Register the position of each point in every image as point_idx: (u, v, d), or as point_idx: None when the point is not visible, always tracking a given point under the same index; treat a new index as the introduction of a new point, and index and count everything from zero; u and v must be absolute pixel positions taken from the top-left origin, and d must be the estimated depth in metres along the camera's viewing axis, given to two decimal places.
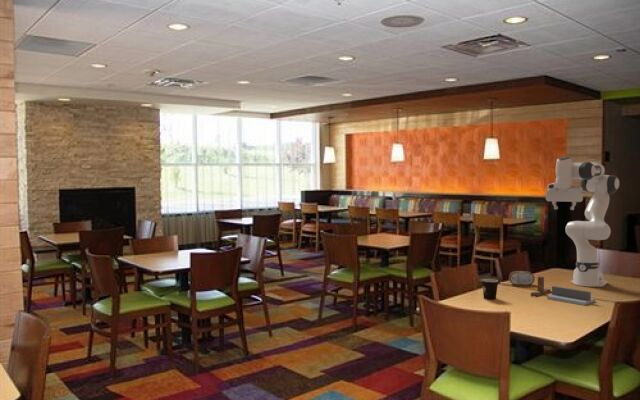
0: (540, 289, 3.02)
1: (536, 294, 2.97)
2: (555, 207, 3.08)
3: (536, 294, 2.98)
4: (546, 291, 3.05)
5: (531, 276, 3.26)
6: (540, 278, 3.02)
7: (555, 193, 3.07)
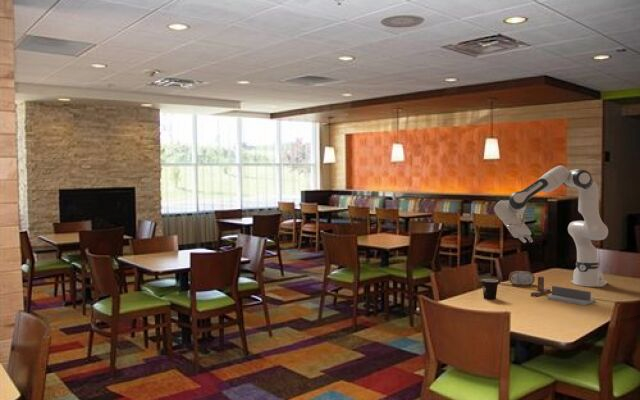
0: (540, 289, 3.02)
1: (536, 294, 2.97)
2: None
3: (536, 294, 2.98)
4: (546, 291, 3.05)
5: (531, 276, 3.26)
6: (540, 278, 3.02)
7: None
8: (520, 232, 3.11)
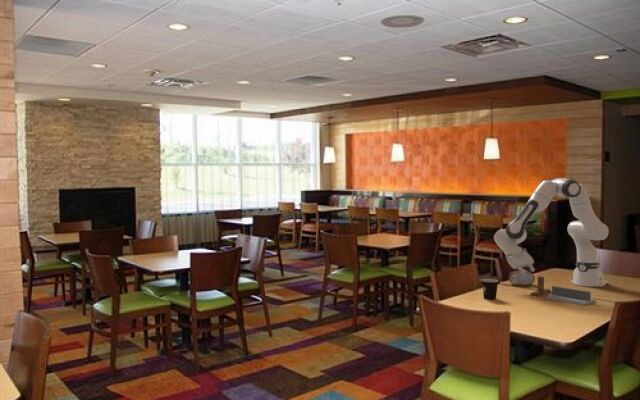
0: (540, 289, 3.02)
1: (536, 294, 2.97)
2: None
3: (536, 294, 2.98)
4: (546, 291, 3.05)
5: (531, 276, 3.26)
6: (540, 278, 3.02)
7: None
8: (519, 263, 3.06)
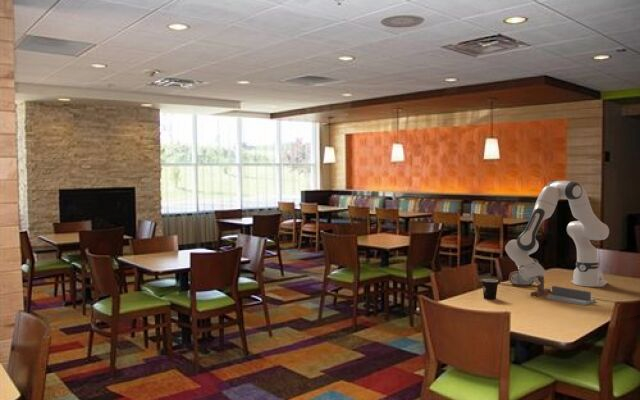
0: (540, 289, 3.02)
1: (536, 294, 2.97)
2: None
3: (536, 293, 2.98)
4: (546, 291, 3.05)
5: None
6: (540, 278, 3.02)
7: None
8: (531, 275, 3.00)
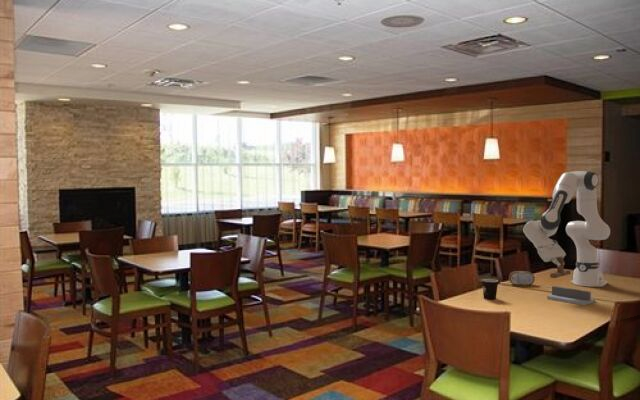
0: (560, 270, 2.91)
1: (556, 275, 2.87)
2: None
3: (556, 275, 2.87)
4: (566, 272, 2.94)
5: (531, 276, 3.26)
6: (560, 259, 2.91)
7: None
8: (550, 255, 2.89)
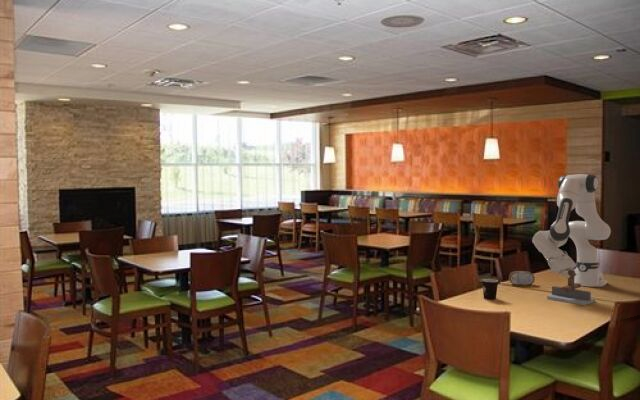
0: (570, 283, 2.86)
1: (567, 289, 2.82)
2: None
3: (567, 288, 2.82)
4: (576, 286, 2.89)
5: (531, 276, 3.26)
6: (570, 272, 2.86)
7: None
8: (561, 267, 2.85)
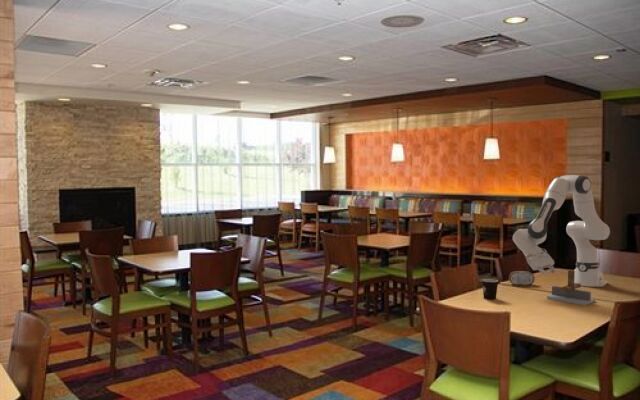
0: (570, 283, 2.86)
1: (567, 289, 2.82)
2: None
3: (567, 288, 2.82)
4: (576, 286, 2.89)
5: (531, 276, 3.26)
6: (570, 272, 2.86)
7: None
8: (539, 264, 2.94)
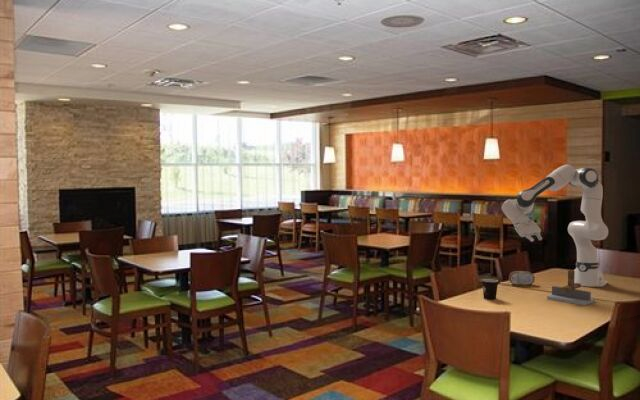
0: (570, 283, 2.86)
1: (567, 289, 2.82)
2: None
3: (567, 288, 2.82)
4: (576, 286, 2.89)
5: (531, 276, 3.26)
6: (570, 272, 2.86)
7: None
8: (526, 231, 3.11)
